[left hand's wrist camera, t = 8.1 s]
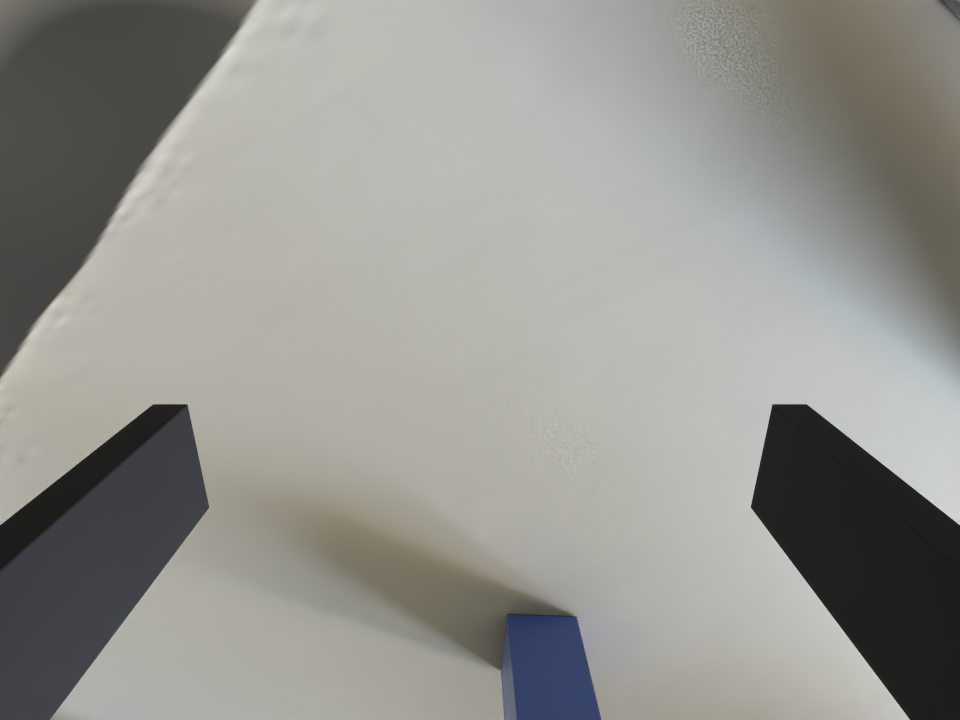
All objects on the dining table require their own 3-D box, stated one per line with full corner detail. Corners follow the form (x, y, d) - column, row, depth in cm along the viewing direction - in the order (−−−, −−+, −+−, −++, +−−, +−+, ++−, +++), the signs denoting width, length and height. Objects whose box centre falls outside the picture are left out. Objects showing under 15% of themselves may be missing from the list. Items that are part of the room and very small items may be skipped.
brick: (500, 671, 39) (509, 801, 32) (507, 613, 37) (518, 736, 30) (567, 673, 40) (592, 802, 32) (576, 616, 38) (606, 738, 30)
